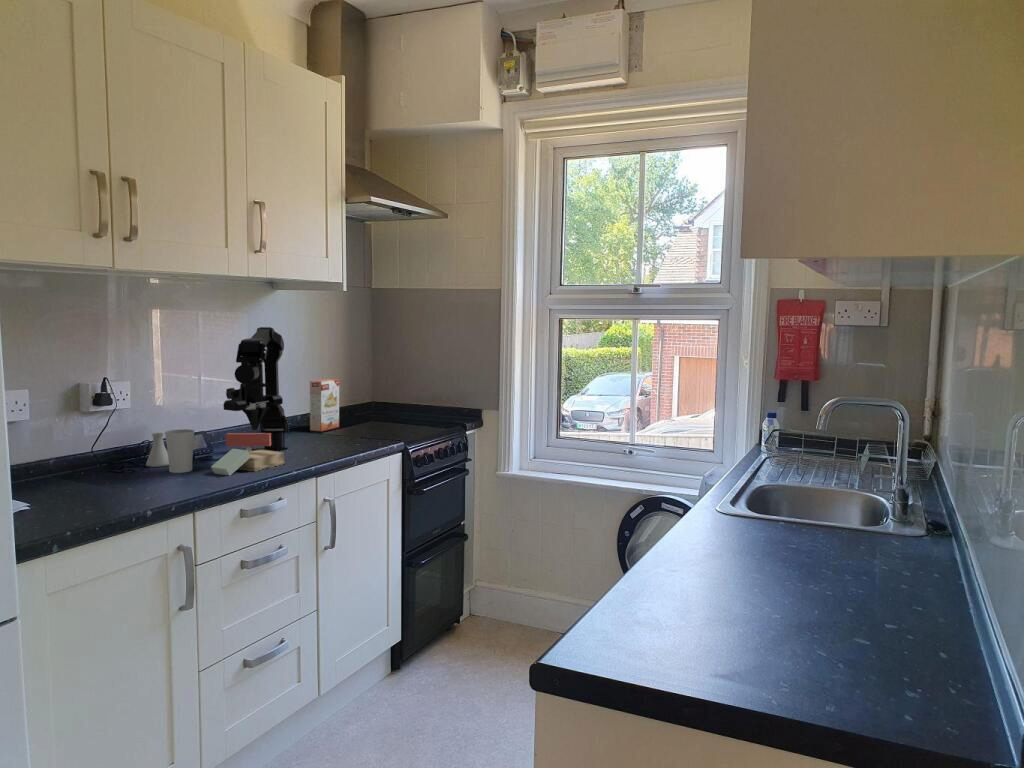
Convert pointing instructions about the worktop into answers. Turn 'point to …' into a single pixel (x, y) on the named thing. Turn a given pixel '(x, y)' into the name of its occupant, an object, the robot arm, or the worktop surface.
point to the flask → (158, 452)
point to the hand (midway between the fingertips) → (254, 429)
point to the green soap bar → (231, 462)
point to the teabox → (263, 460)
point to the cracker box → (324, 405)
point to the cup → (180, 450)
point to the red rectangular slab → (248, 439)
